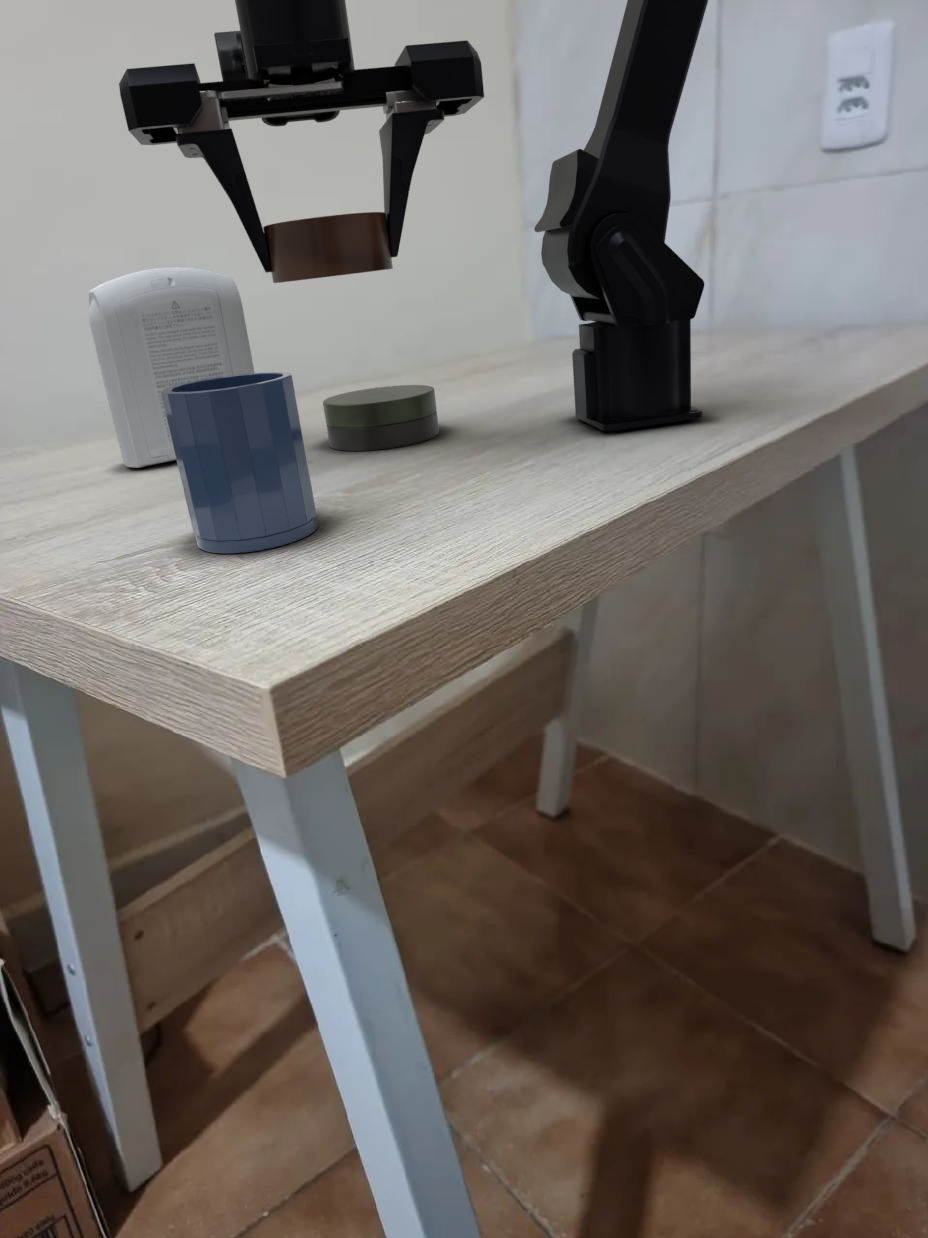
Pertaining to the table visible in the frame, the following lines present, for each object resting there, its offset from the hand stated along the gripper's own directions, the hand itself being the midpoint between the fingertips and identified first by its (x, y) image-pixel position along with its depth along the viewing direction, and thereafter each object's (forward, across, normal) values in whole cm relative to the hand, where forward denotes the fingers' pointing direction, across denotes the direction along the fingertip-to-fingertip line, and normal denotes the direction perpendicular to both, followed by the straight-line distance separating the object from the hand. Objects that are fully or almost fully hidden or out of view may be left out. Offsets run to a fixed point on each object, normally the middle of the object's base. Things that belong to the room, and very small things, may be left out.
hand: (332, 264), depth 51 cm
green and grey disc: (+11, -2, -5) cm, 13 cm away
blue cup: (+11, +6, +14) cm, 19 cm away
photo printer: (+12, +11, -10) cm, 18 cm away
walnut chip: (+1, 0, 0) cm, 1 cm away
